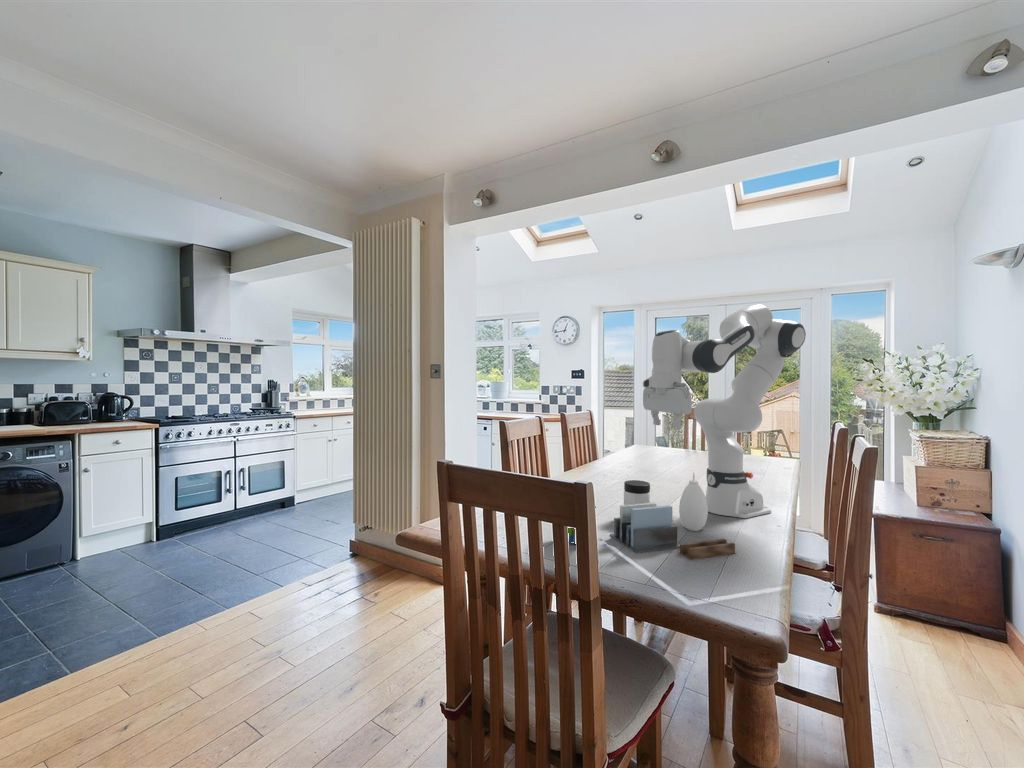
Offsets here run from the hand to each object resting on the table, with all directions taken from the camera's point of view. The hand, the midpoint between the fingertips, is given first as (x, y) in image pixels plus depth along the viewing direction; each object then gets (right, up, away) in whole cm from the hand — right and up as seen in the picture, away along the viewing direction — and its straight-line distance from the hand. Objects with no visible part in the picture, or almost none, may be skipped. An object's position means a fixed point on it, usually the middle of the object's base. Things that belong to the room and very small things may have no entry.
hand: (665, 426), depth 144 cm
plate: (-10, -30, -18) cm, 37 cm away
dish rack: (-11, -31, -15) cm, 37 cm away
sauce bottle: (+7, -32, -5) cm, 32 cm away
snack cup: (-30, -32, -12) cm, 45 cm away
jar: (-7, -31, +7) cm, 33 cm away
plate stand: (+3, -32, -23) cm, 39 cm away
